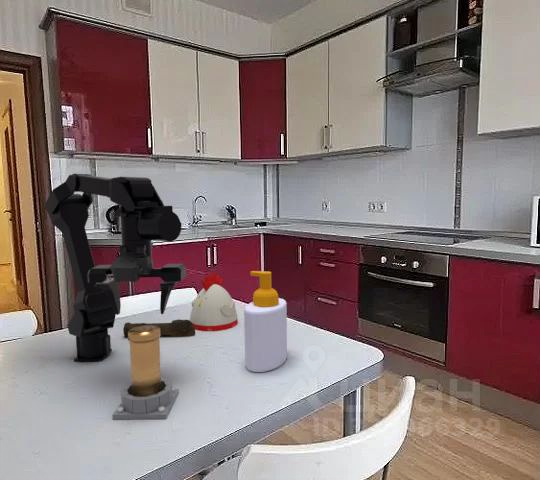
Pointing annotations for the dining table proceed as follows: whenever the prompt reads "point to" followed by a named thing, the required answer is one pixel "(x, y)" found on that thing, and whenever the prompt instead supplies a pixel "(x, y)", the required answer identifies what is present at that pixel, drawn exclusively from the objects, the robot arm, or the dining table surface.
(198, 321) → the kitchen timer
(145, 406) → the socket
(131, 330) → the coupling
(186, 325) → the hand tool
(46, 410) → the dining table surface
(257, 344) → the soap bottle
